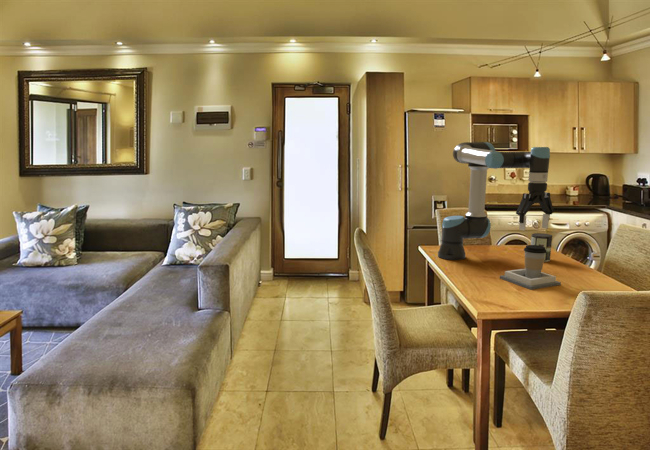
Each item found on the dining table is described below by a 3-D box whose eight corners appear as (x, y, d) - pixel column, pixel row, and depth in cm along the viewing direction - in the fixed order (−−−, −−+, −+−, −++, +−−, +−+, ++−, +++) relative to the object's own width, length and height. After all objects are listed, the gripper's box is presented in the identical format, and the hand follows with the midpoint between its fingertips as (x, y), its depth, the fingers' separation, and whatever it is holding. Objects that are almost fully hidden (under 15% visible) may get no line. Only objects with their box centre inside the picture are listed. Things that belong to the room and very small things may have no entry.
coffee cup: (524, 274, 197) (527, 243, 194) (546, 277, 191) (549, 246, 188) (519, 278, 190) (521, 247, 187) (541, 282, 184) (544, 250, 181)
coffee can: (544, 257, 233) (546, 233, 231) (553, 261, 223) (556, 236, 221) (526, 257, 233) (528, 233, 231) (534, 261, 223) (537, 236, 221)
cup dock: (499, 278, 194) (500, 270, 194) (528, 274, 200) (528, 266, 200) (530, 289, 178) (531, 281, 177) (560, 284, 184) (561, 277, 183)
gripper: (523, 183, 173) (519, 232, 177) (565, 182, 182) (561, 228, 186) (509, 182, 180) (505, 229, 184) (551, 180, 189) (546, 226, 193)
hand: (533, 229), depth 185 cm, fingers open, 13 cm apart
